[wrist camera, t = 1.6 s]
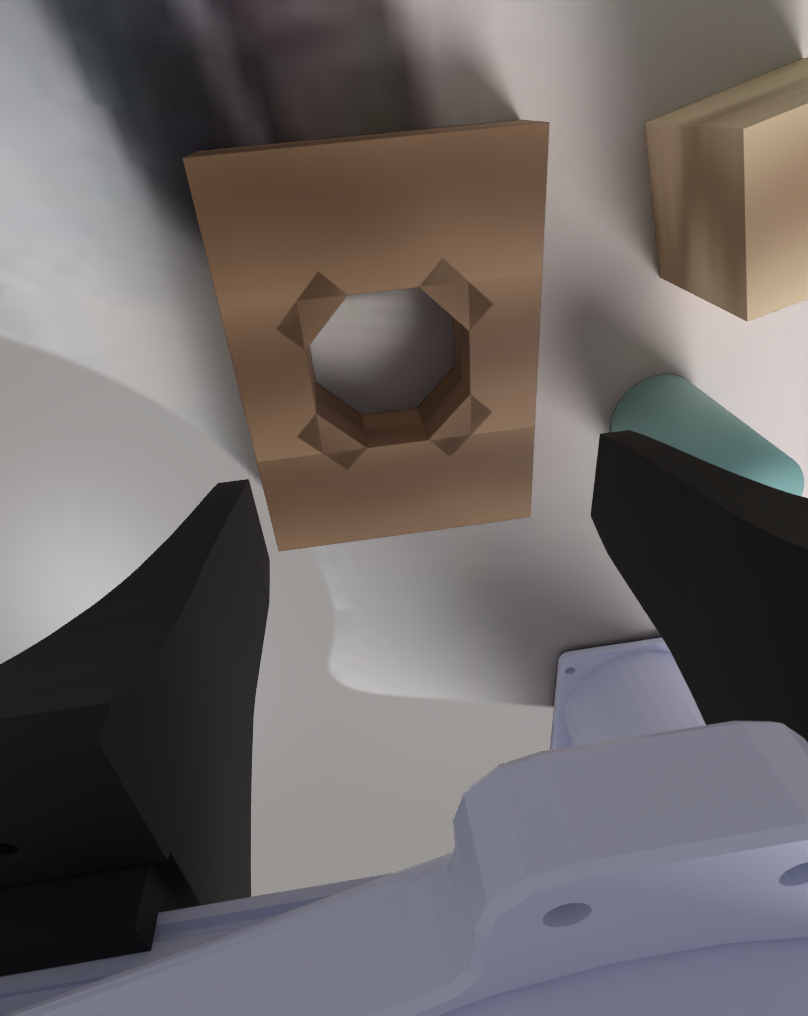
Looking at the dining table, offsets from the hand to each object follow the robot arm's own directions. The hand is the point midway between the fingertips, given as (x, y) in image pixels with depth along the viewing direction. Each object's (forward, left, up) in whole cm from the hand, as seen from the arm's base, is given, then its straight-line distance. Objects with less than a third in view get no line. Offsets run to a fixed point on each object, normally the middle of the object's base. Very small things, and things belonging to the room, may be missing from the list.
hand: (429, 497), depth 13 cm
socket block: (0, 0, -9) cm, 9 cm away
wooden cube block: (+4, -11, -10) cm, 15 cm away
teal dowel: (-4, -10, -9) cm, 14 cm away
